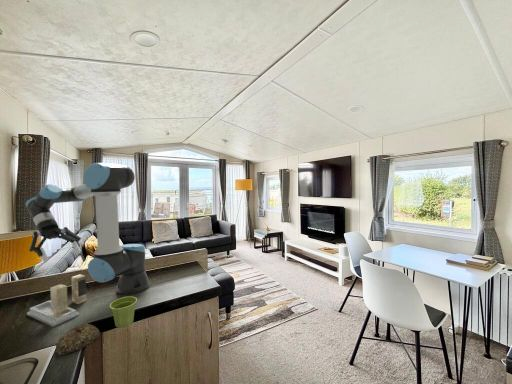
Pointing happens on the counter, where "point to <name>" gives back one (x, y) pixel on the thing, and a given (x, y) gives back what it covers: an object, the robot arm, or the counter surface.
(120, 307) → the plant pot
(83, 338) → the bread roll
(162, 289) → the counter surface
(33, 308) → the base plate with posts
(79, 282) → the beech finger
